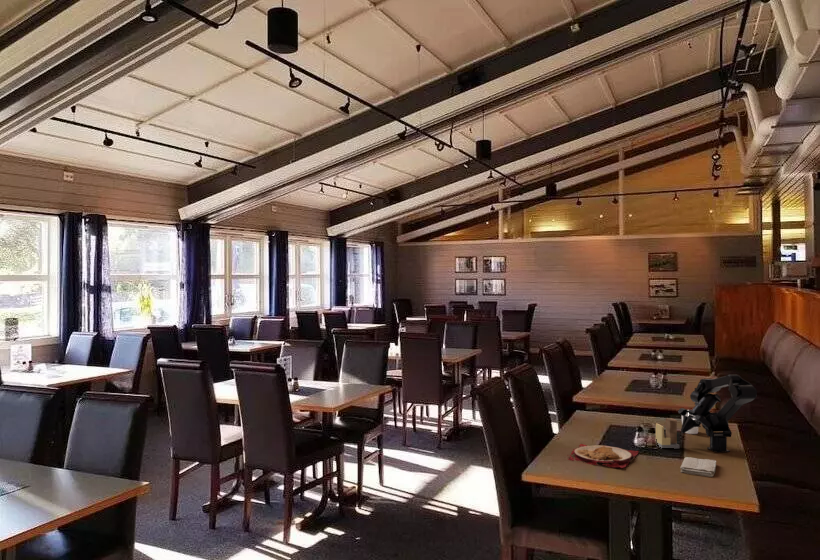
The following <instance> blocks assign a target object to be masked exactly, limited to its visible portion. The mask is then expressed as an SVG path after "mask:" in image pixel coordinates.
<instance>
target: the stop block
mask: <svg viewBox="0 0 820 560" xmlns="http://www.w3.org/2000/svg"><path fill="white" fill-rule="evenodd" d="M677 430H678V420H677V419H674V418H671V417H667V418H665V438H670V443H677V441H678V439H677V438H678V437H677V435H678V434H677V433H678V431H677ZM677 444H678V443H677Z"/></svg>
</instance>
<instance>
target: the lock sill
mask: <svg viewBox="0 0 820 560" xmlns="http://www.w3.org/2000/svg"><path fill="white" fill-rule="evenodd" d="M664 429H665V427H664V426H663V425H661V424H659V423H657V422H656V423H655V440H656V439H657V443H658V445H659V447H658V448H660V447H661V448H660V449H662V448H674V449H680V444H678V443H670V438H666V434H665V431H664Z"/></svg>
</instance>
